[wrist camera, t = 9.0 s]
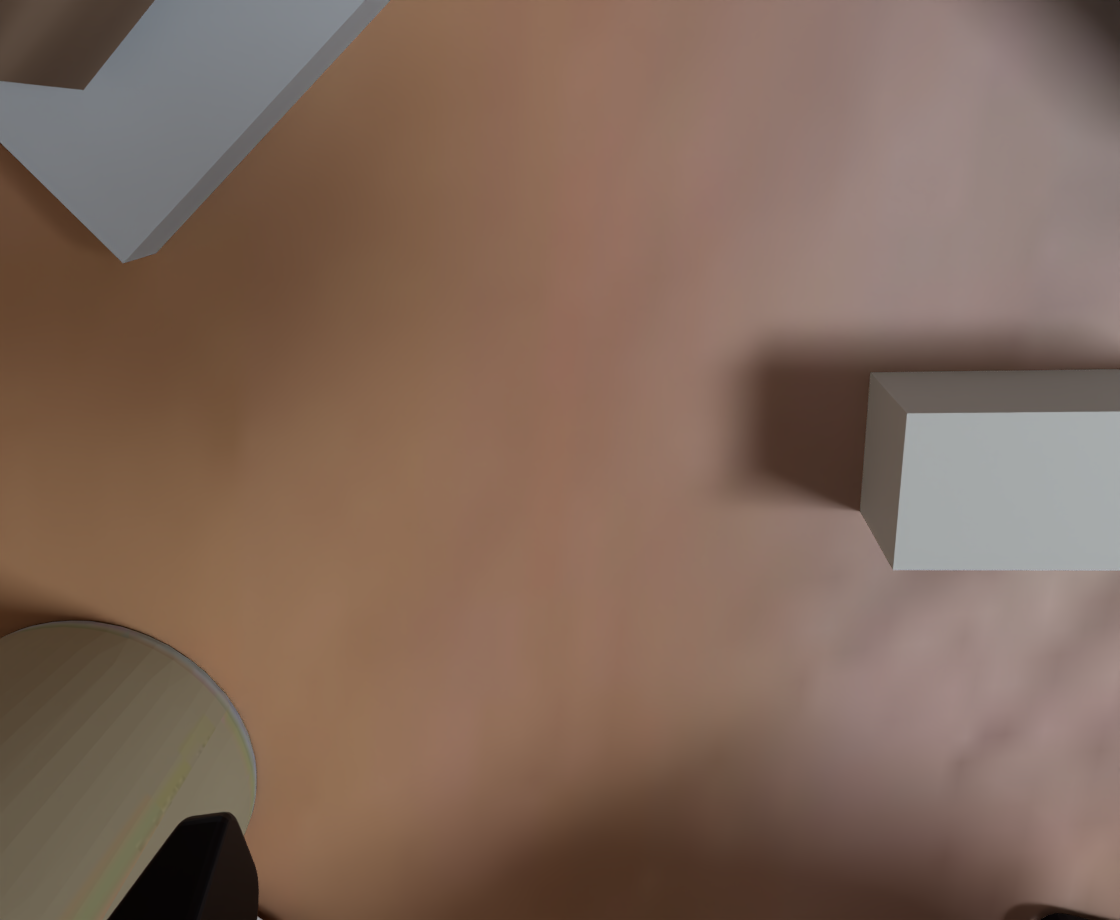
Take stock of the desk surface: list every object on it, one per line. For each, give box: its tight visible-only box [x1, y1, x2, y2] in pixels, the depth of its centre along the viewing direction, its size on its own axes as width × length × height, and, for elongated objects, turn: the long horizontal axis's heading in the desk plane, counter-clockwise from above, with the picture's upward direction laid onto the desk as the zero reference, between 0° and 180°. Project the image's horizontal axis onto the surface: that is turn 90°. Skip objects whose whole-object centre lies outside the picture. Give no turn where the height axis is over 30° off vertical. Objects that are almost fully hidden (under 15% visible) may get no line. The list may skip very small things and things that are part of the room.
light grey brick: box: [860, 369, 1120, 570], centre depth 19 cm, size 6×3×3 cm, turn 92°
